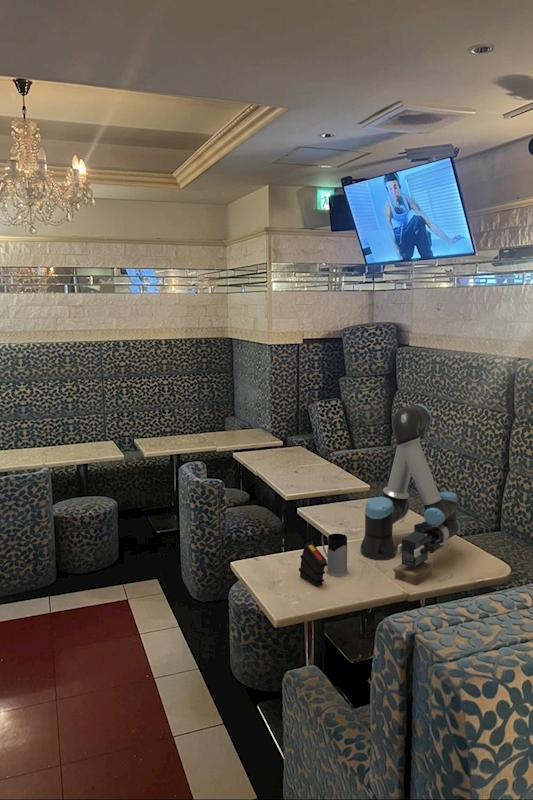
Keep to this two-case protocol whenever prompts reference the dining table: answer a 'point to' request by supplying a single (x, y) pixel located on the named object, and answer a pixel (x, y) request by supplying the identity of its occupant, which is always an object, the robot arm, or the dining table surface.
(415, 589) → the dining table surface
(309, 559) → the magazine
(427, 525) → the vhs cassette tape
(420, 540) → the small box
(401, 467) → the robot arm
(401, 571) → the walnut stand
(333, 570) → the glass holder
